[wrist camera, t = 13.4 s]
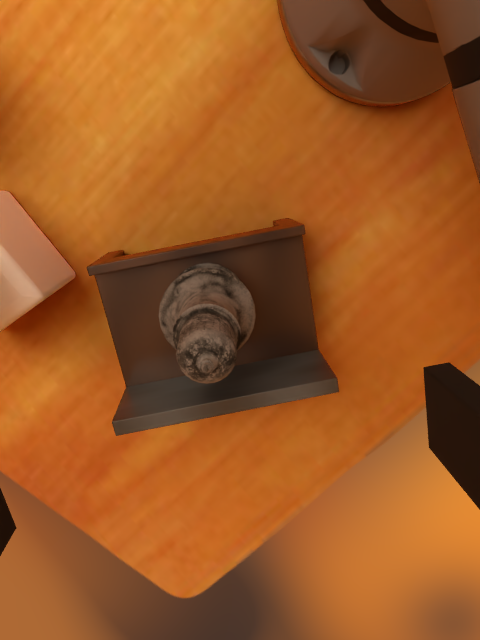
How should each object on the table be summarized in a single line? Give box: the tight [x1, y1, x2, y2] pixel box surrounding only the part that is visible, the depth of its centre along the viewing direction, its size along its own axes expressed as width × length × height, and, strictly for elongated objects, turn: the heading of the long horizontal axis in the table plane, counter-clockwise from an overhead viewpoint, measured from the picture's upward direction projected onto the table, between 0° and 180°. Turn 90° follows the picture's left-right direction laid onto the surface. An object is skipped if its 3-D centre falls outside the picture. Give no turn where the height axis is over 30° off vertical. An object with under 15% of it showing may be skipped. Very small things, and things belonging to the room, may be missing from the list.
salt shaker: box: [159, 263, 256, 384], centre depth 25 cm, size 6×6×12 cm
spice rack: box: [87, 218, 339, 436], centre depth 31 cm, size 14×10×10 cm
